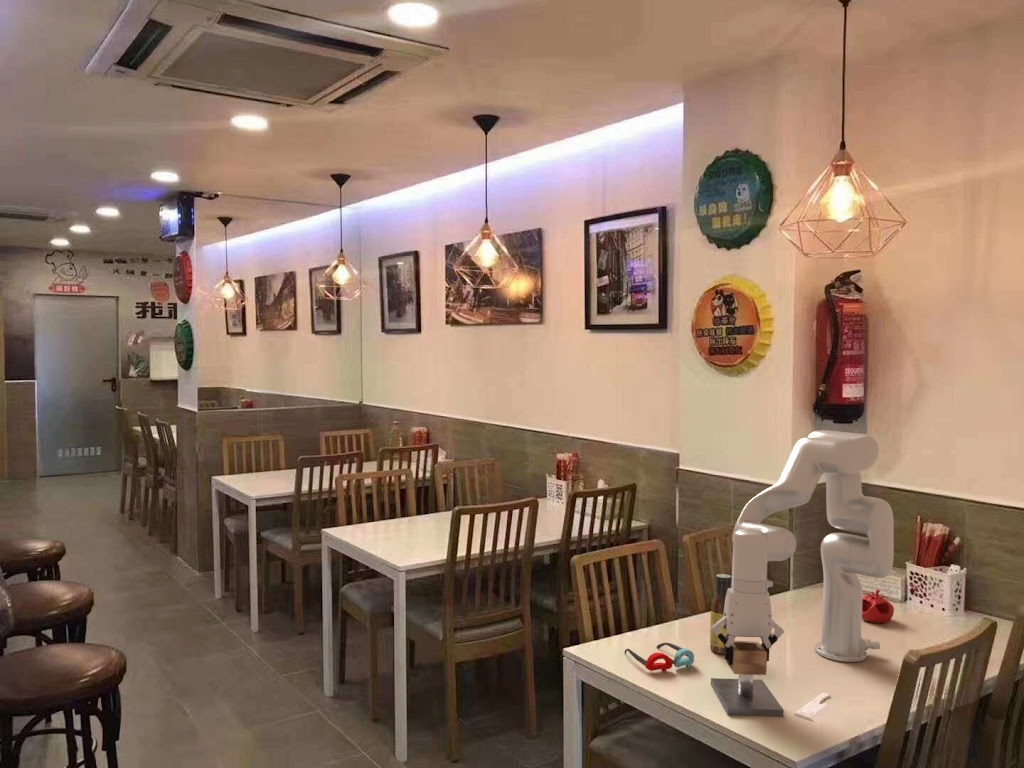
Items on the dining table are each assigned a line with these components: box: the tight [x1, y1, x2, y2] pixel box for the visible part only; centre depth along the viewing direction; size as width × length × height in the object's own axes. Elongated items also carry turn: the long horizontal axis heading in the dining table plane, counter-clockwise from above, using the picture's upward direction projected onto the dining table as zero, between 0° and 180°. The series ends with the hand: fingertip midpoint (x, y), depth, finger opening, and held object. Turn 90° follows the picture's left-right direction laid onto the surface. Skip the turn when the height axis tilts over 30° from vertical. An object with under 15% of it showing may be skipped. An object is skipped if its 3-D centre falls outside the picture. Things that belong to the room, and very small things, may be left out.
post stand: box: [710, 674, 785, 718], centre depth 182 cm, size 12×16×8 cm
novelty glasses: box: [624, 642, 695, 673], centre depth 204 cm, size 14×15×5 cm
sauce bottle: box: [709, 573, 736, 655], centre depth 212 cm, size 6×6×20 cm
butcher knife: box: [794, 692, 834, 723], centre depth 179 cm, size 5×15×1 cm, turn 136°
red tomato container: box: [862, 589, 895, 624], centre depth 239 cm, size 10×10×9 cm
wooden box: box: [726, 640, 768, 676], centre depth 182 cm, size 7×7×5 cm
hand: (746, 662), depth 182 cm, fingers closed on wooden box, 7 cm apart
